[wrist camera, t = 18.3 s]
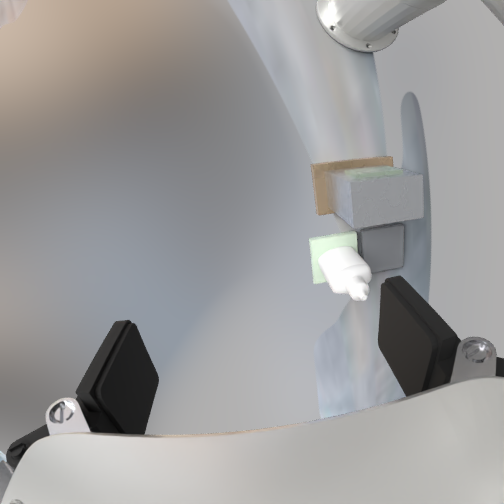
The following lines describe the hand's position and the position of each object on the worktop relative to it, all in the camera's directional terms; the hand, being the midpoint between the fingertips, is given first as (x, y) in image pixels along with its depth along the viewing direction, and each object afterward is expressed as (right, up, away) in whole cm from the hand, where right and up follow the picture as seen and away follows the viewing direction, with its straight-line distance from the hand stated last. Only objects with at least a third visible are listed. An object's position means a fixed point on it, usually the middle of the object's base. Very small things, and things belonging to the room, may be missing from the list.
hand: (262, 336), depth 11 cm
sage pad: (+12, +2, +34) cm, 36 cm away
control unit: (+14, +13, +30) cm, 36 cm away
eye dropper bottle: (+12, +2, +33) cm, 35 cm away
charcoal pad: (+20, +4, +34) cm, 39 cm away
